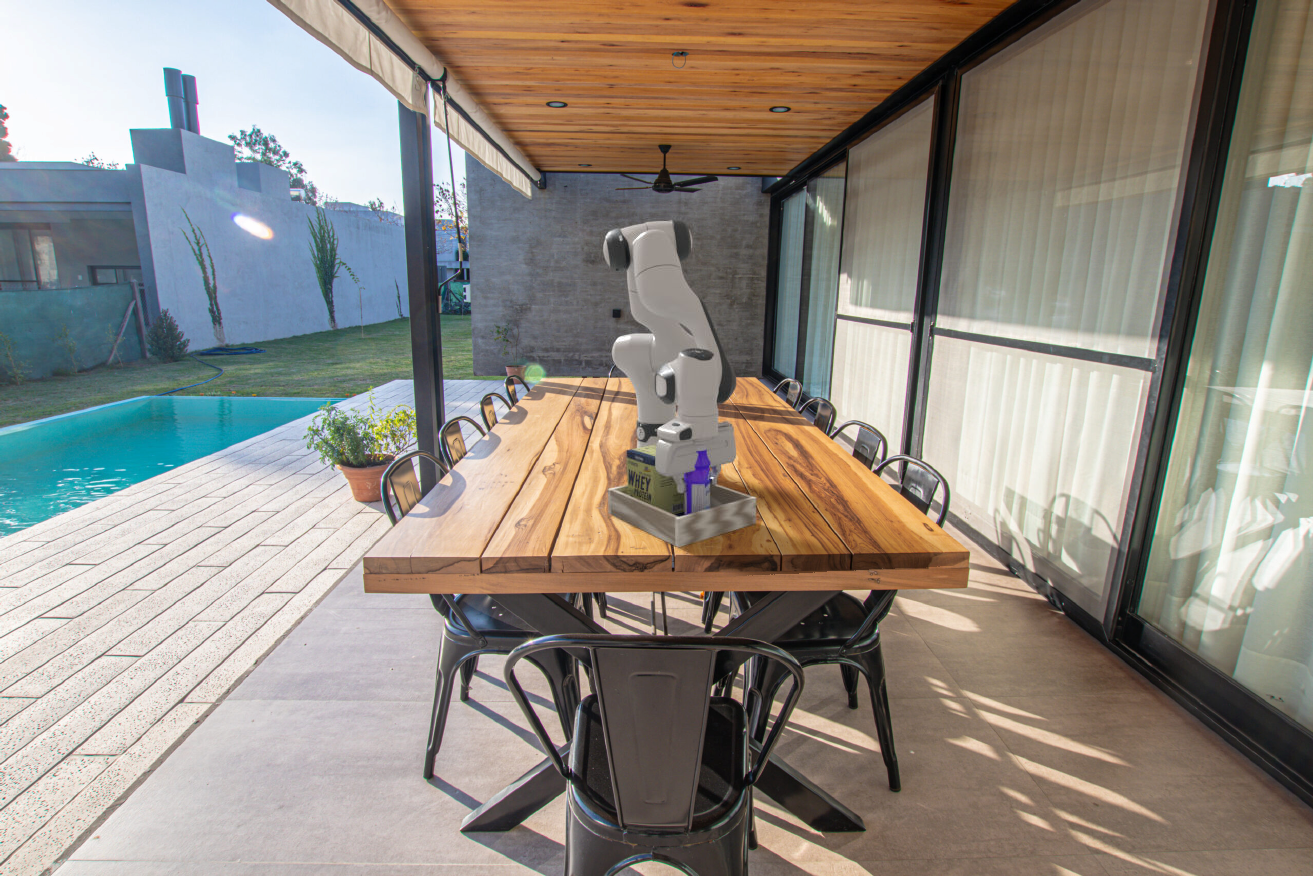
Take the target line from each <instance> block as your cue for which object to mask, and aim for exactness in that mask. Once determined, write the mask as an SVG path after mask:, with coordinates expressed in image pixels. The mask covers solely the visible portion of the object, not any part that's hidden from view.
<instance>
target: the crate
mask: <svg viewBox="0 0 1313 876" xmlns="http://www.w3.org/2000/svg"><path fill="white" fill-rule="evenodd" d="M607 501H608V502H607V504H608V514H609V515H611V516H613V517H615V518H617V519H619V520H621V521H623V522H625V523H627V524H629V525H631V526H633V527H636V528H637V529H640V530H642V531H643V532H646V533H648V534H649V535H652V536H654V537H655V538H658V539H660V540H662V541H665V542H666V543H669V545H672V546H675V547H676V548H681V547H684V546H688V545H691V544H695V543H696V542H701V541H704V540H707V539H709V538H714V537H717V536H719V535H722V534H723V535H724V534H726V533H730V532H733V531H736V530H739V529H742V528H746V527H748V526H749V527H750V526H753V525H755V524H757V523H756V522H757V497H755V496H752V495H749V494H747V493H743V492H740V491H739V490H736V489H735V490H734V489H732V488H729V487H725V486H723V485H720V484H718V483H717V484H716V485H713V486H710V509H706V510H702V511H699V512H695V513H691V514H688V515H684V516H680V517H678V516H676V515H673V514H671V513H669V512H666V511H664V510H662V509H659V508H657V507H655V506H652V505H650V504H648V503H645V502H643V501H641V500H638V499H636V498H633V497H631V496H629V495H628V484H624V485H619V486H615V487H610V488H607Z"/></svg>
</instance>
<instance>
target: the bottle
mask: <svg viewBox="0 0 1313 876" xmlns="http://www.w3.org/2000/svg"><path fill="white" fill-rule="evenodd" d="M696 453H698V458H697V461H696V464H695V465H694V467H695V470H694V471H692V472H687V473H685V474H684V484H687V492H685V502H684V515H688V514H691V513H695V512H699V511H702V510H706V509H710V477H711V468H710V467H709V466H710V464H711V462H710V460H709V459H708V456H707V444H705V445H699V446H697V449H696Z"/></svg>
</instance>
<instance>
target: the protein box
mask: <svg viewBox="0 0 1313 876" xmlns="http://www.w3.org/2000/svg"><path fill="white" fill-rule="evenodd" d="M656 446H657V445H652V446H647V447H641V448H637V447H636V448H631V449H626V476H627V478H626V479H627V480H626V482H627V485H628V495H629V496H631V497H633V498H636V499H638V500H641V501H643V502H645V503H648V504H650V505H652V506H655V507H657V508H659V509H662V510H664V511H666V512H669V513H671V514H673V515H676V516H678V517H680V516H684V502H685V493H679V492H678V491H677V484H676V482H675V480H674V479H673V476H670V477H666V476H663V475H661V474H659V473H658V472H657V471H656V467H655V455H656ZM684 474H685V473H684ZM682 481H683V483H684V478H682Z"/></svg>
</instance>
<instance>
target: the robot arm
mask: <svg viewBox="0 0 1313 876" xmlns="http://www.w3.org/2000/svg"><path fill="white" fill-rule="evenodd" d="M602 248H603V249H602V252H603V256H604V259H605V261H606V263H607V265H608V267H609V268H610V270H612V271H614V272H618V273H626V280H627V281H626V282H627V289H628V297H629V305H630V312H631V315H632V318H633V319H634V320H635V321H636V322H637V323H639V324H640V325H643V326H645V328H647V329H648V330H649V331H650V332H651V333H629V334H626V335H621V336H618V337H617V339H616V340H615V341H614V342H613V345H612V349H611V356H612V360H613V363H614V365H615V366H616V367H617V368H618V370H620V371H621V372H623V373H624V374H625V376H626V377H627V378H628V379H629V381H630V382H631V383H630V384H631V385H632V387H633V389H634V392H635V396H636V406H637V407H636V409H637V420H636V424H635V425H636V438H637V440H636V441H637V442H636V444H637V445H636V448H641V447H647V446H652V445H657V446H656V455H655V467H656V471H657V472H658V473H659V474H661V475H663V476H666V477H670V476H673V479H674V480H675V482H676V484H677V491H678V492H679V493H685V492H687V484H684V483H683V481H682V478H684V473H687V472H692V471H694V470H695V467H694V465H695V464H696V461H697V458H698V453H696V449H697V446H699V445H705V444H707V456H708V459H709V460H710V462H711V464H710V466H709V468H710V473H711V477H710V486H713V485H716V484H717V485H718V477H719V475H720V473H721V472H722V471H721V470H722V465H726V464H730V463H734V462H735V459H736V458H737V445H736V437H735V434H734V432H735V431H734V430H735V429H734V428H735V427H734V426H733V424H732V423H731V422H729V421H722V422H719V408H718V405H721V404H722V405H723V404H724V403H726V402H727V401H728V400H729V399H730V398H731V396H732V395H733V394H734V392H735V391H736V387H737V377H736V373H735V370H734V367H732V364H731V362H730V361H729V359H728V357H727V356H726V354H725V351H724V349H723V346H722V343H721V341H720V339H719V336H718V334H717V331H716V328H715V326H714V323H713V320H712V317H711V315H710V313H709V311H708V309H707V307H706V304H705V302H704V300H703V299H702V297H700V296H699V295H697V294H696V293H695V292H694V291H693V290H692V289H691V287H690V286H689V284H688V282H687V281H686V279H685V277H684V273H683V269H682V263H683V262H686V261H687V260H688V259H689V257H690V256H691V253H692V249H693V236H692V233H691V231H690V228H689V226H688V224H687V223H686V222H685V221H683V220H680V219H670V220H658V221H646V222H644V223H639V224H634V225H629V226H625V227H623V228H620V227H618V228H614V229H612V230H609V231H608V232H607V233H606V235H605V236H604V241H603V247H602ZM683 326H684V327H685V328H687V329H688V331H689V332H690V333H691V334H692V335H691V334H690V333H688V331H686V330H685V329H684V328H683ZM717 404H718V405H717ZM676 406H677V407H676Z"/></svg>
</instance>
